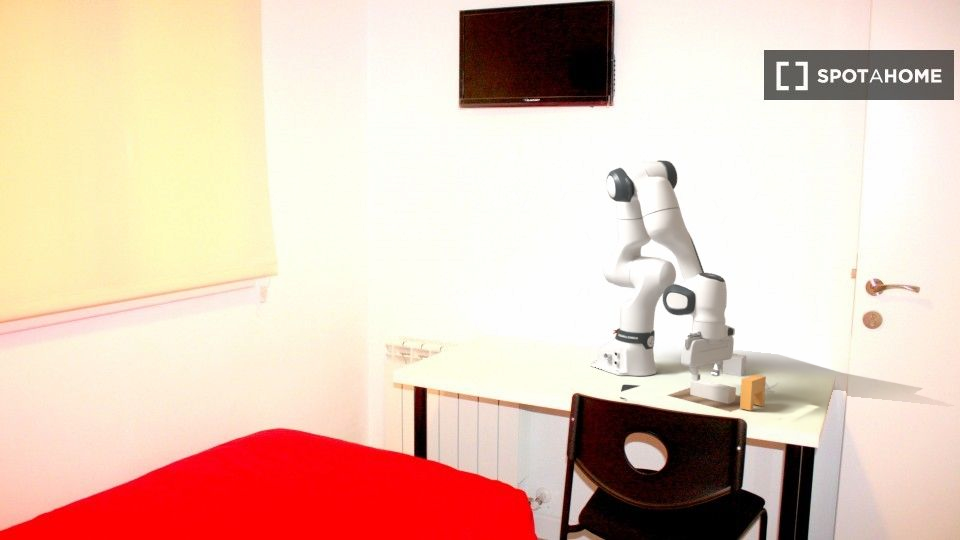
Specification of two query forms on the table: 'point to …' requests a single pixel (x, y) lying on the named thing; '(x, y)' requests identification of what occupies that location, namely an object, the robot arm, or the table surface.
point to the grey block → (735, 365)
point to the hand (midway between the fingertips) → (705, 378)
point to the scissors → (769, 387)
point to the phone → (627, 388)
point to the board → (707, 400)
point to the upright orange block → (752, 391)
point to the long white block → (713, 391)
